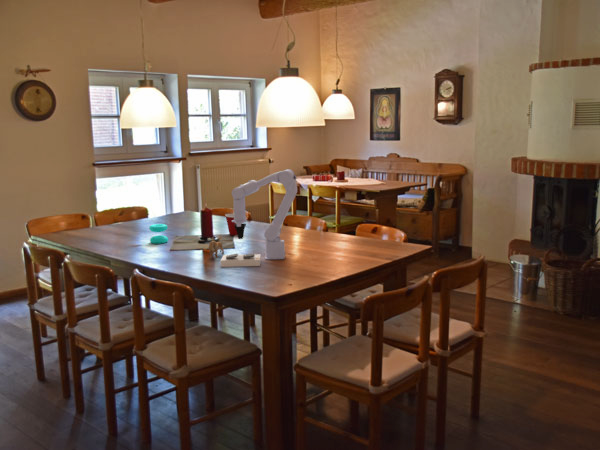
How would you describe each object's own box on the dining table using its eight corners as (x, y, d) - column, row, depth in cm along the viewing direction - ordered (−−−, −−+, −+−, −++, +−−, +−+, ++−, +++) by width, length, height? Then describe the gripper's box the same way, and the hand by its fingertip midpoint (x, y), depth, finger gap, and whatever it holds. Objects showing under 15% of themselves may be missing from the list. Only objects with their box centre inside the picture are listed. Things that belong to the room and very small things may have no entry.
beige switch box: (260, 260, 275) (260, 253, 274) (259, 265, 264) (259, 259, 263) (223, 261, 274) (223, 254, 274) (220, 266, 263) (220, 260, 263)
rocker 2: (254, 256, 268) (254, 252, 268) (254, 258, 265) (253, 254, 264) (244, 257, 269) (243, 254, 268) (243, 259, 265) (243, 256, 264)
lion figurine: (218, 259, 278) (217, 241, 276) (207, 259, 278) (206, 241, 277) (225, 252, 292) (224, 235, 291) (215, 252, 293) (214, 235, 291)
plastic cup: (242, 235, 336) (241, 215, 334) (224, 236, 336) (223, 216, 334) (244, 232, 347) (244, 213, 345) (227, 232, 347) (226, 213, 345)
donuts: (171, 224, 323) (159, 227, 314) (172, 241, 324) (160, 244, 316) (157, 223, 327) (145, 225, 319) (158, 240, 329) (146, 243, 320)
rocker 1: (237, 256, 268) (237, 253, 268) (237, 258, 264) (236, 255, 264) (227, 258, 268) (226, 255, 268) (226, 260, 264) (225, 257, 264)
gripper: (232, 209, 285) (233, 235, 287) (229, 213, 271) (231, 241, 273) (246, 209, 285) (247, 235, 287) (244, 213, 271) (245, 241, 273)
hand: (240, 238), depth 280 cm, fingers closed
